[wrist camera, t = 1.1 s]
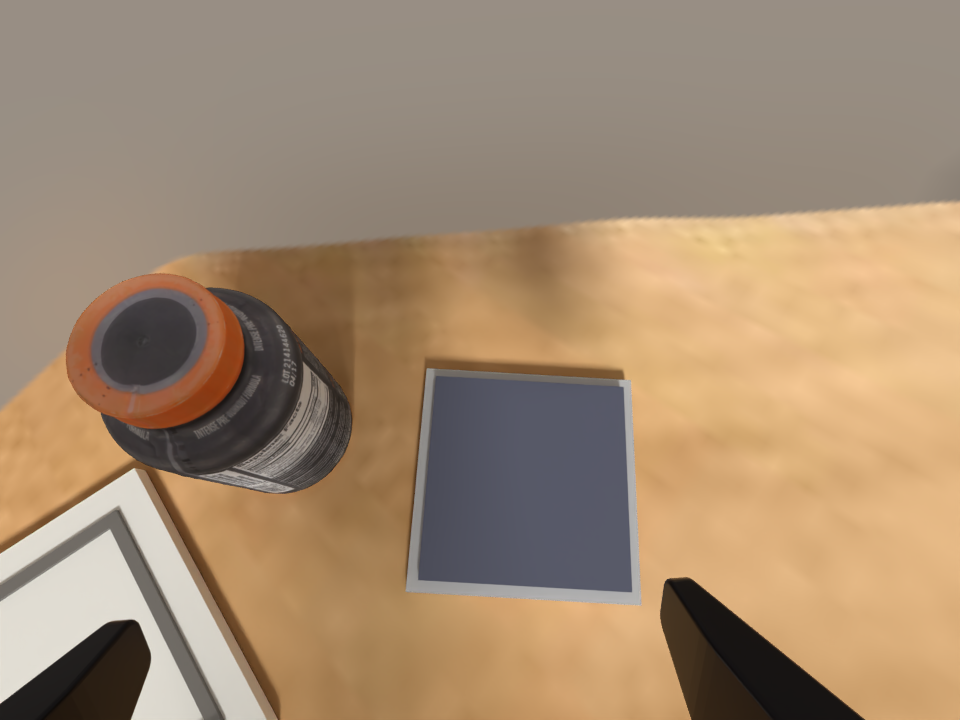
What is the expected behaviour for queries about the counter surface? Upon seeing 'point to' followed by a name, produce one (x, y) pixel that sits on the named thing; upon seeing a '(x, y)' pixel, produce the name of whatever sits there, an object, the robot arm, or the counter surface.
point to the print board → (124, 605)
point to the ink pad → (526, 489)
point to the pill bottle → (208, 385)
